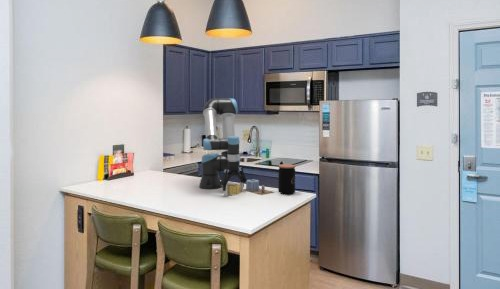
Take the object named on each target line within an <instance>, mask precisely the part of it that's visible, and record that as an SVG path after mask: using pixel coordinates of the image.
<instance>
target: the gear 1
mask: <svg viewBox="0 0 500 289" xmlns="http://www.w3.org/2000/svg"><path fill="white" fill-rule="evenodd" d="M226 186H227V195H229V196H230V197H233V195H240V194H241V185H240V184H237V183H227V185H226Z"/></svg>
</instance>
